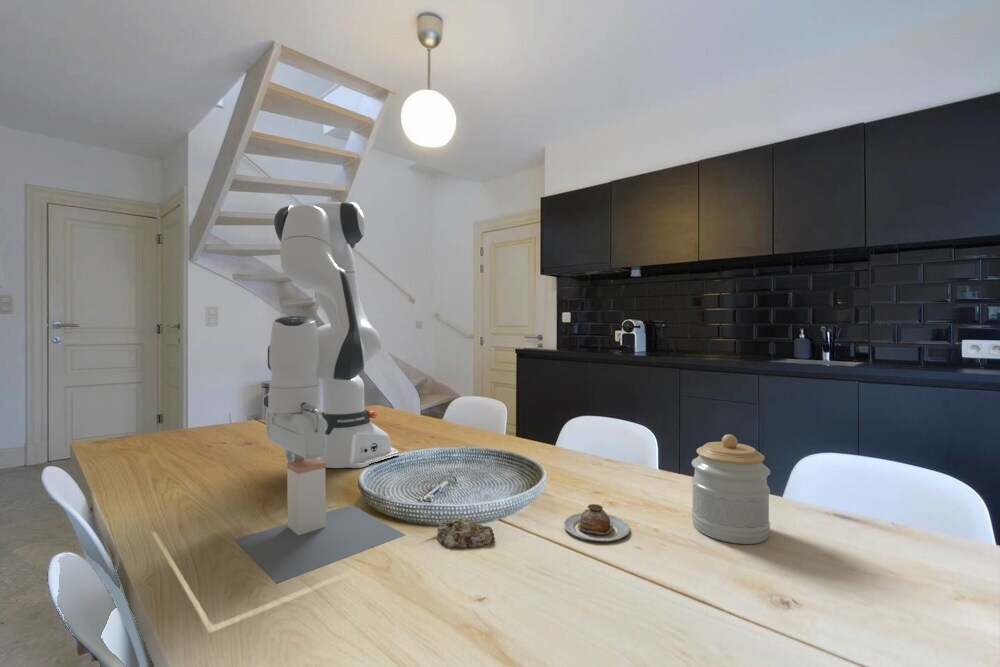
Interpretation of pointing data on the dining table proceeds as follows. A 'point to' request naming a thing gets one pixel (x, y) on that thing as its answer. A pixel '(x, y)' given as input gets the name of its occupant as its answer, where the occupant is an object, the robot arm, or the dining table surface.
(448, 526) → the mineral rock
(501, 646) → the dining table surface
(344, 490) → the dining table surface
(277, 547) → the rubber mat
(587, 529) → the pastry
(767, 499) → the jar
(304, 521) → the cream block
